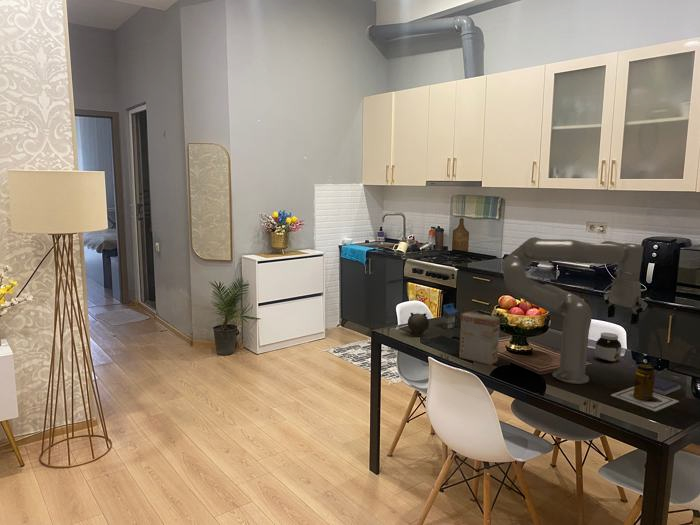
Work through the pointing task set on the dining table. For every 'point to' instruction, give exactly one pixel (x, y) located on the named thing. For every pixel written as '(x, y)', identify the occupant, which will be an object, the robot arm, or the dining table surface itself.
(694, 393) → the dining table surface
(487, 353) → the coffeecake box
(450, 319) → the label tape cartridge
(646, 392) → the condiment
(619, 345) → the spread jar
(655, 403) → the marked sheet
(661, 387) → the ink pad
